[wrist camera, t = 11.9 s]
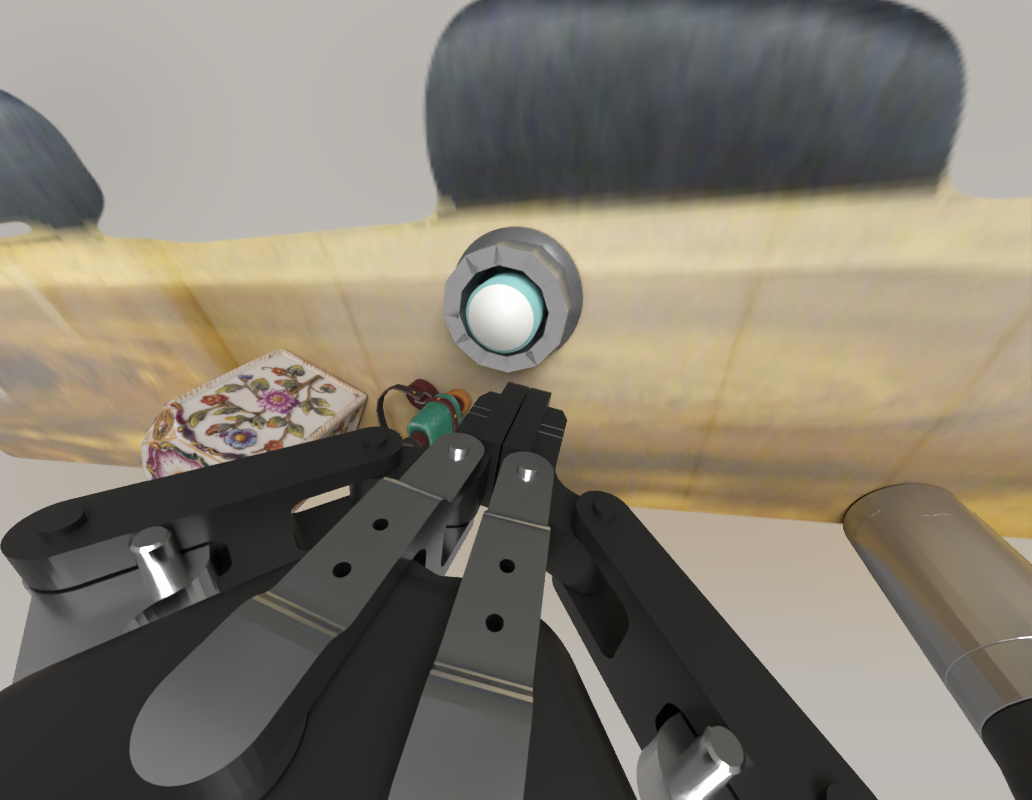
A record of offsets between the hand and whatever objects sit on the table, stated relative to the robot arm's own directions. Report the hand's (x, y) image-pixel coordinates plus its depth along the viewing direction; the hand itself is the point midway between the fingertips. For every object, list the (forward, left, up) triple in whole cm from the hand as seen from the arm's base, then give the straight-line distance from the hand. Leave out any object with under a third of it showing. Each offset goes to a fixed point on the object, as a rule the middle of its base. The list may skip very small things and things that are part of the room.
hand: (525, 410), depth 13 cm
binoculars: (+12, +18, -24) cm, 32 cm away
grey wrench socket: (+5, +3, -24) cm, 24 cm away
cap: (+5, +3, -23) cm, 24 cm away
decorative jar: (+27, +22, -24) cm, 42 cm away
